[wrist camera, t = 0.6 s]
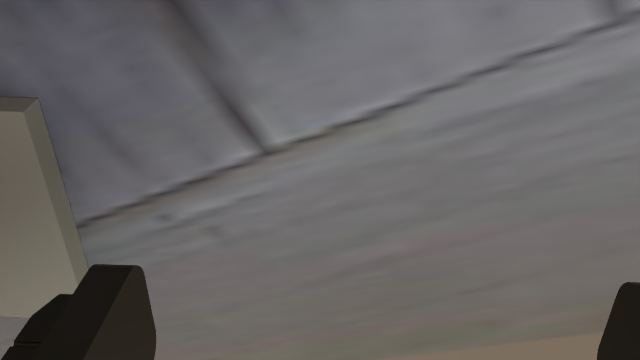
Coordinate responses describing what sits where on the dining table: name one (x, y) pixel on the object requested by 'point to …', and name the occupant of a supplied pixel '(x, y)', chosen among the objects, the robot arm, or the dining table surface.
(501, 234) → the dining table surface
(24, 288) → the base plate
